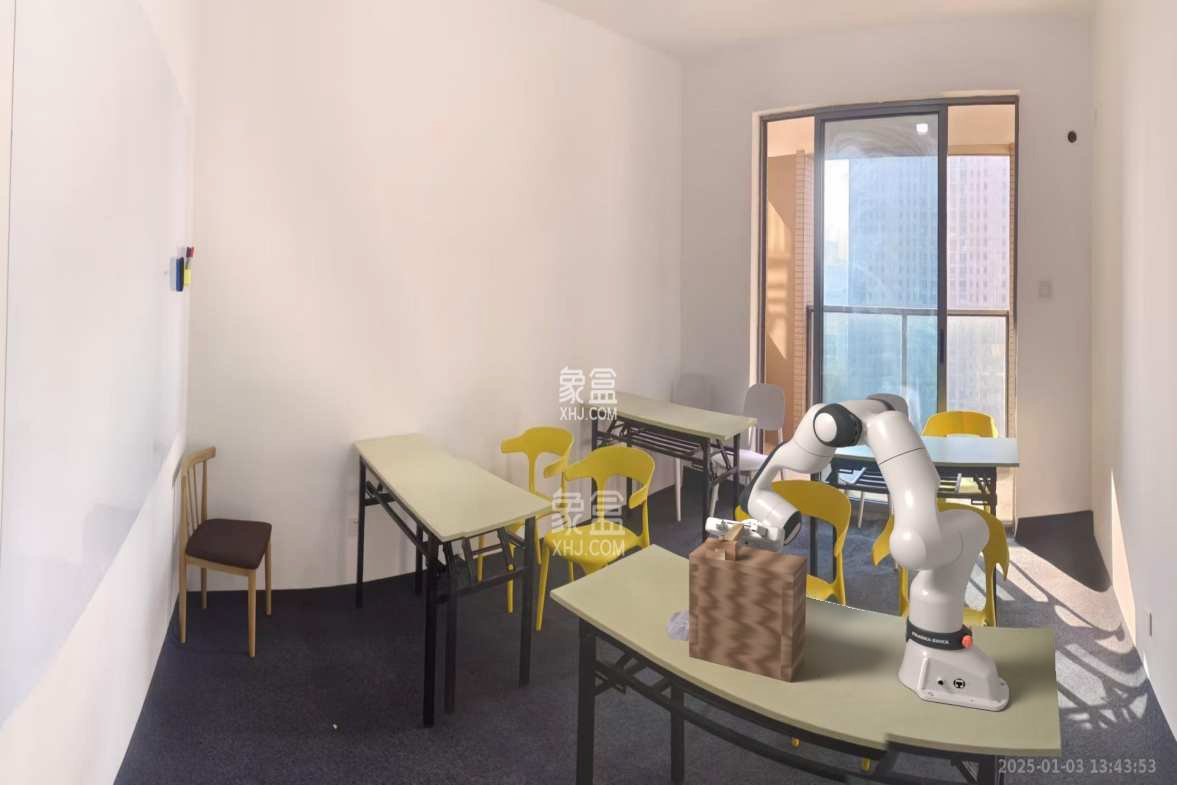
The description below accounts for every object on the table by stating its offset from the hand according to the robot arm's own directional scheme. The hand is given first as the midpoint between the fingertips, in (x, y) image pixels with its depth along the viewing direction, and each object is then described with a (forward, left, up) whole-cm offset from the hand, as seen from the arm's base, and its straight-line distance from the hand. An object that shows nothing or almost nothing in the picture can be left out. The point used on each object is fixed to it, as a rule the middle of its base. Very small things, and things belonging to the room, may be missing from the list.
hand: (736, 524), depth 196 cm
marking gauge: (-1, +6, -3) cm, 7 cm away
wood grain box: (-7, +11, -29) cm, 32 cm away
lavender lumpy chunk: (+11, +4, -30) cm, 32 cm away
